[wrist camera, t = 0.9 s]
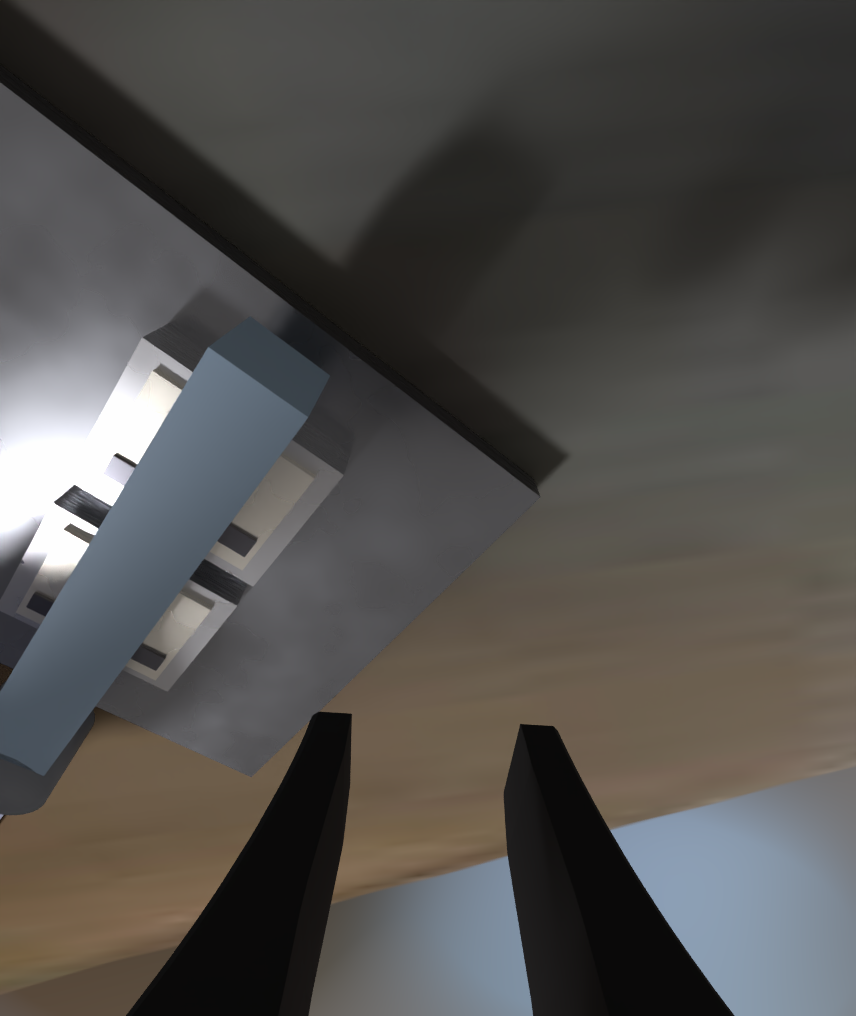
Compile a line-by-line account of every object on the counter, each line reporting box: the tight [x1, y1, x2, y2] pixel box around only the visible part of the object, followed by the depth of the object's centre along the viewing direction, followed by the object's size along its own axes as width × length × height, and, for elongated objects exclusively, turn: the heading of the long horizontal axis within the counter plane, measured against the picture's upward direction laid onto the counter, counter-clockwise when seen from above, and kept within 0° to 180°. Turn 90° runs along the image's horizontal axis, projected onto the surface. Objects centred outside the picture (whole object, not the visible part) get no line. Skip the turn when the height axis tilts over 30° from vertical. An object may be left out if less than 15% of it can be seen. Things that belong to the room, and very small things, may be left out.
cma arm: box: [0, 316, 330, 815], centre depth 15 cm, size 18×3×3 cm, turn 141°
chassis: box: [0, 65, 540, 777], centre depth 18 cm, size 18×19×3 cm
